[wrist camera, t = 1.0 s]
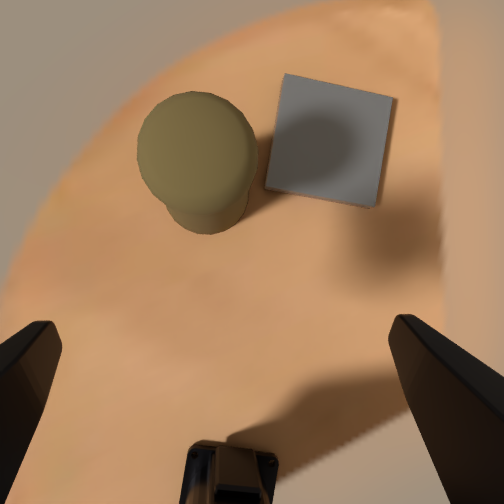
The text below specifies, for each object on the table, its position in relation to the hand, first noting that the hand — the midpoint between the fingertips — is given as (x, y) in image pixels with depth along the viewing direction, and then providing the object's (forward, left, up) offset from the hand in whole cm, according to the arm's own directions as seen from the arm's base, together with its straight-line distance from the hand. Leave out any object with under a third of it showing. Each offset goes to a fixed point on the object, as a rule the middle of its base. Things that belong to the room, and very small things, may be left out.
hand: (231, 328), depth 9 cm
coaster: (+11, -6, -15) cm, 20 cm away
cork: (+6, +2, -15) cm, 17 cm away
